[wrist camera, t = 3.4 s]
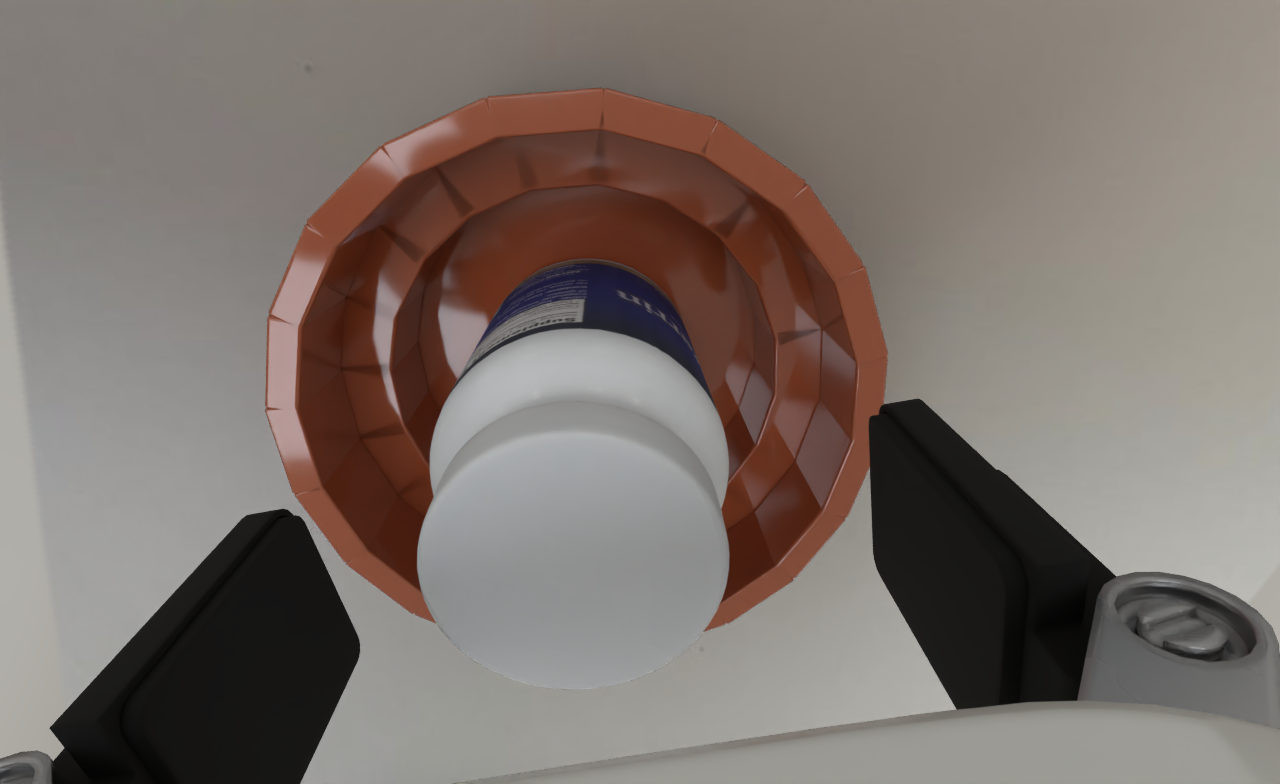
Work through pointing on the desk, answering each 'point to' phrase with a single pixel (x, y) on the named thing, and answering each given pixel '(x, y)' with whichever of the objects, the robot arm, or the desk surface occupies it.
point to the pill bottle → (577, 486)
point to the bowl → (548, 234)
